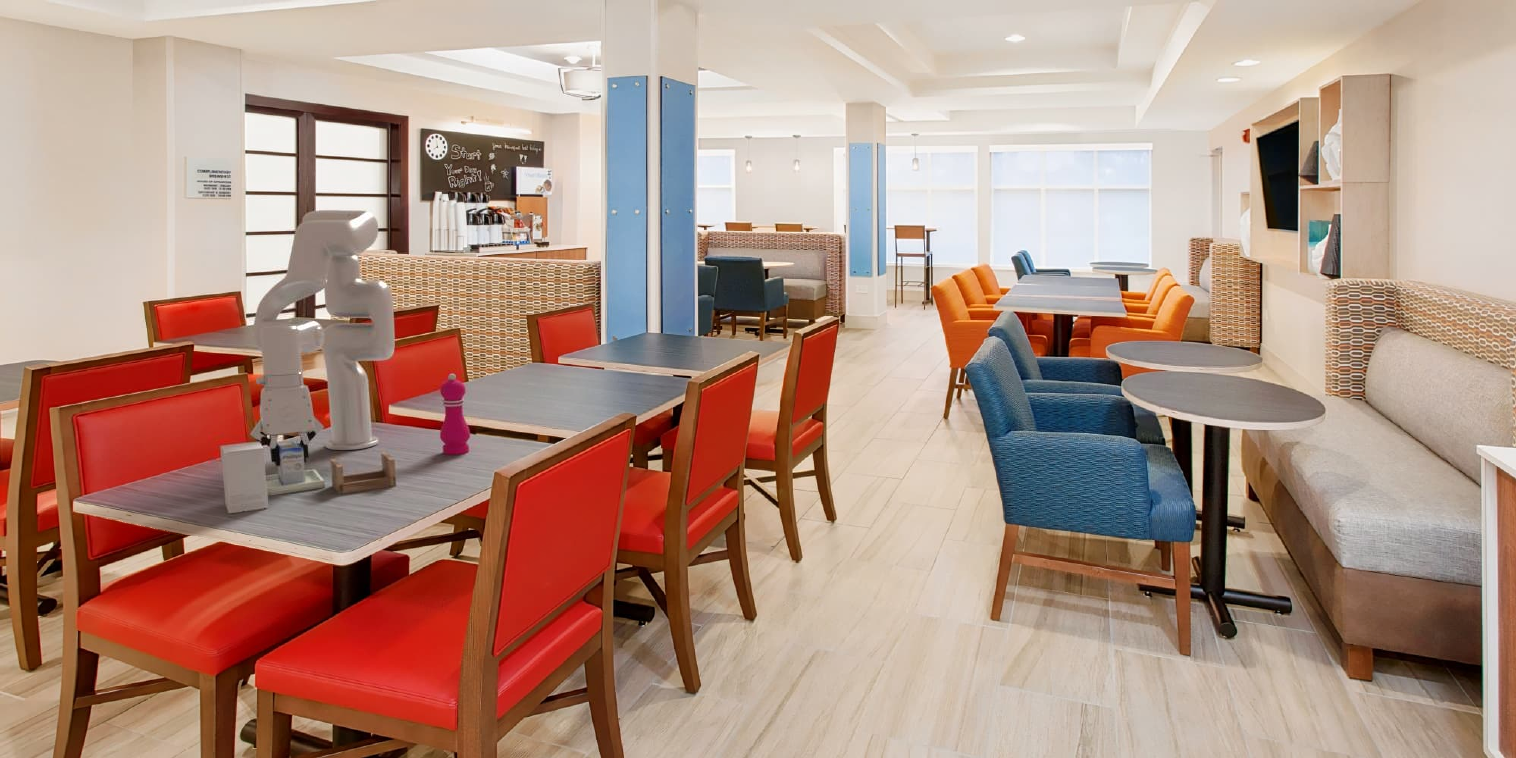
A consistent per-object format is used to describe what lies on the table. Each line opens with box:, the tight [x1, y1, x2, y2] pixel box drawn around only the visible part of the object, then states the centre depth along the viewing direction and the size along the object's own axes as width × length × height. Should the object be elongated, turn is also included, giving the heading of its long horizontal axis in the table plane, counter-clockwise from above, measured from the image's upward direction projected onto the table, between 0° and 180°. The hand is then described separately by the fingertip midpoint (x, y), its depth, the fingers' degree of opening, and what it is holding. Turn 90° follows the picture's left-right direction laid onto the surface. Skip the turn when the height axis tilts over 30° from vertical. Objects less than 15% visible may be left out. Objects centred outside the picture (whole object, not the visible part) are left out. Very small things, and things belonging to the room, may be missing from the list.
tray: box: [266, 468, 326, 497], centre depth 206 cm, size 11×11×2 cm
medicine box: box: [276, 440, 306, 486], centre depth 205 cm, size 8×4×9 cm, turn 35°
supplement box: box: [220, 441, 269, 514], centre depth 190 cm, size 7×7×13 cm
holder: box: [329, 451, 397, 495], centre depth 206 cm, size 8×12×6 cm, turn 125°
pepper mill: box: [439, 373, 471, 456], centre depth 235 cm, size 7×7×20 cm
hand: (290, 462), depth 205 cm, fingers closed on medicine box, 4 cm apart
